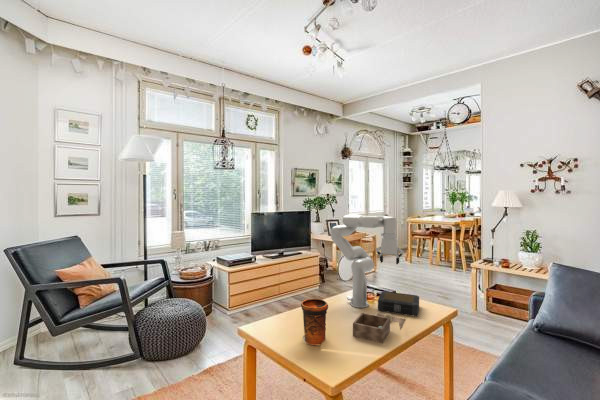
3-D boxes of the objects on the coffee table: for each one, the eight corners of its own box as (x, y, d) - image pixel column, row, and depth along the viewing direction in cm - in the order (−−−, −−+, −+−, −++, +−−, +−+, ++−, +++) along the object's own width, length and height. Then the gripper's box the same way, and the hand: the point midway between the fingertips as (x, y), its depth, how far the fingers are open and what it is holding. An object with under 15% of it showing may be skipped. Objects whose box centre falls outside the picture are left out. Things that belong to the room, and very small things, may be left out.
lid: (369, 325, 181) (370, 316, 180) (377, 315, 195) (377, 307, 195) (399, 332, 172) (399, 323, 172) (405, 321, 187) (405, 312, 187)
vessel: (298, 345, 155) (299, 306, 155) (302, 333, 170) (302, 297, 170) (327, 348, 153) (327, 308, 153) (328, 335, 168) (328, 299, 168)
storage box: (352, 337, 164) (352, 323, 164) (362, 326, 178) (362, 312, 178) (382, 345, 156) (382, 329, 156) (389, 332, 170) (390, 318, 170)
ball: (377, 332, 168) (377, 326, 168) (378, 330, 171) (378, 324, 171) (383, 333, 167) (383, 328, 167) (384, 331, 169) (384, 325, 169)
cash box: (377, 311, 201) (377, 299, 201) (381, 301, 220) (381, 290, 219) (418, 317, 191) (418, 305, 191) (419, 306, 210) (419, 295, 209)
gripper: (374, 235, 194) (374, 262, 194) (402, 237, 185) (402, 265, 186) (377, 234, 200) (377, 260, 201) (405, 236, 192) (404, 263, 192)
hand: (389, 263), depth 193 cm, fingers open, 9 cm apart
